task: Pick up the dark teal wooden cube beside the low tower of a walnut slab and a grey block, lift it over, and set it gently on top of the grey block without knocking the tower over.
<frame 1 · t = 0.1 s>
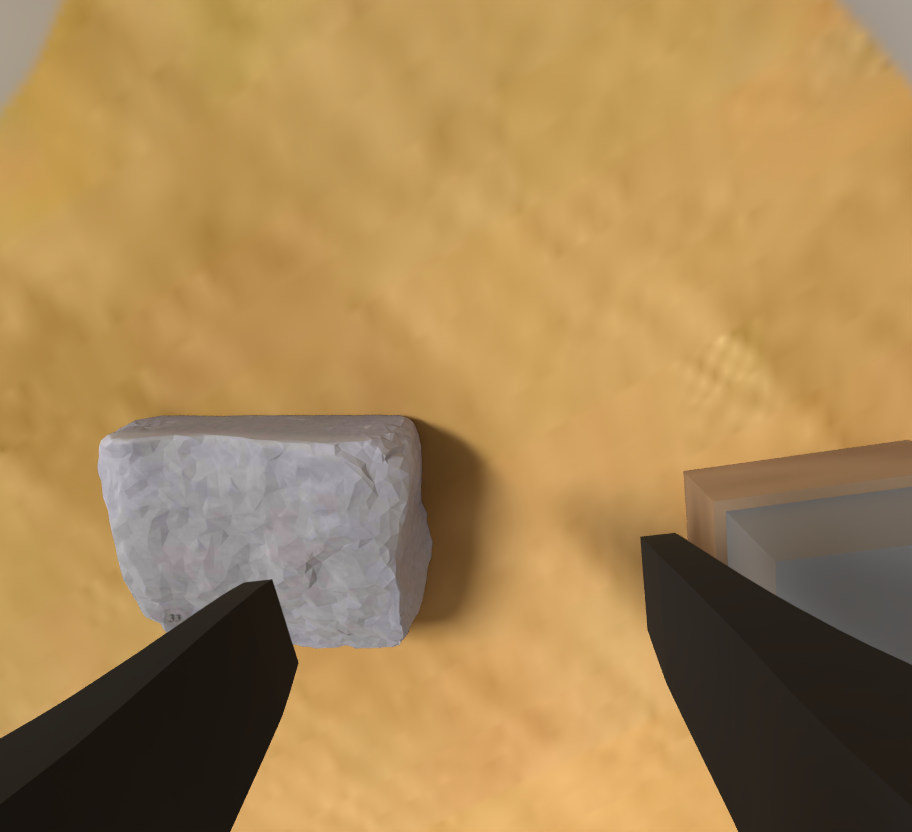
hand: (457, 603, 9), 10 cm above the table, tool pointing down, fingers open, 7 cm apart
stone block: (297, 516, 21), on the table
grey block: (834, 587, 17), point 3 cm above the table, touching walnut slab
walnut slab: (787, 543, 20), on the table, touching grey block
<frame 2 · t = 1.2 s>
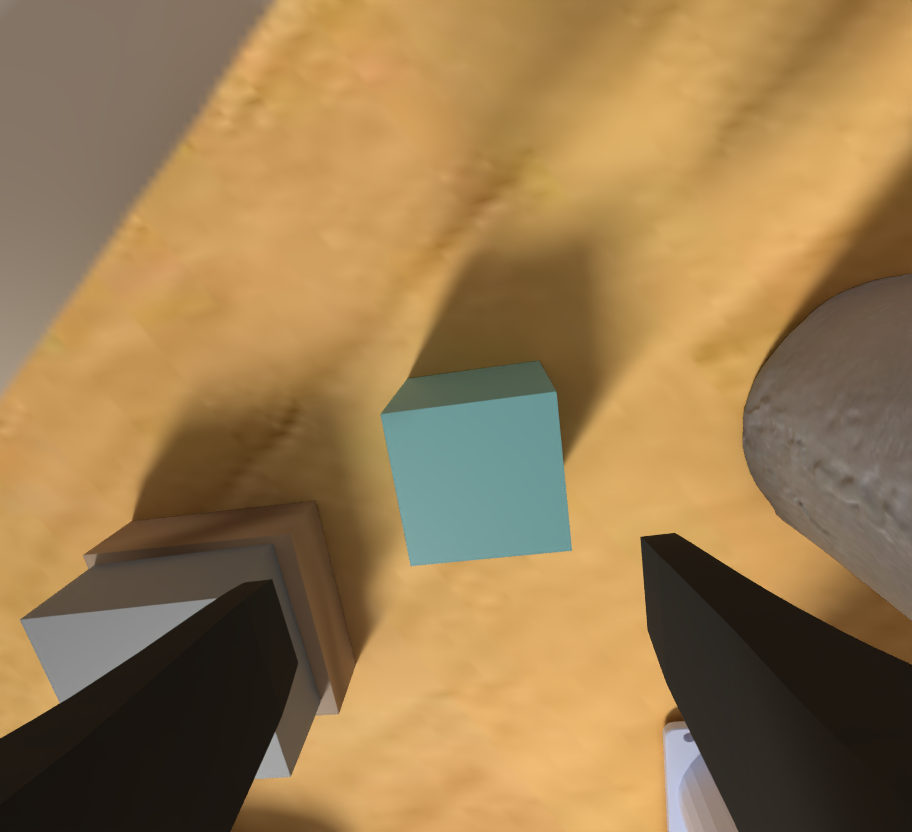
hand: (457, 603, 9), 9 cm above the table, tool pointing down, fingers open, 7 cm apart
pillar candle: (876, 409, 17), on the table
grey block: (210, 635, 19), point 3 cm above the table, touching walnut slab
walnut slab: (251, 588, 22), on the table, touching grey block
teal cube: (481, 431, 19), on the table
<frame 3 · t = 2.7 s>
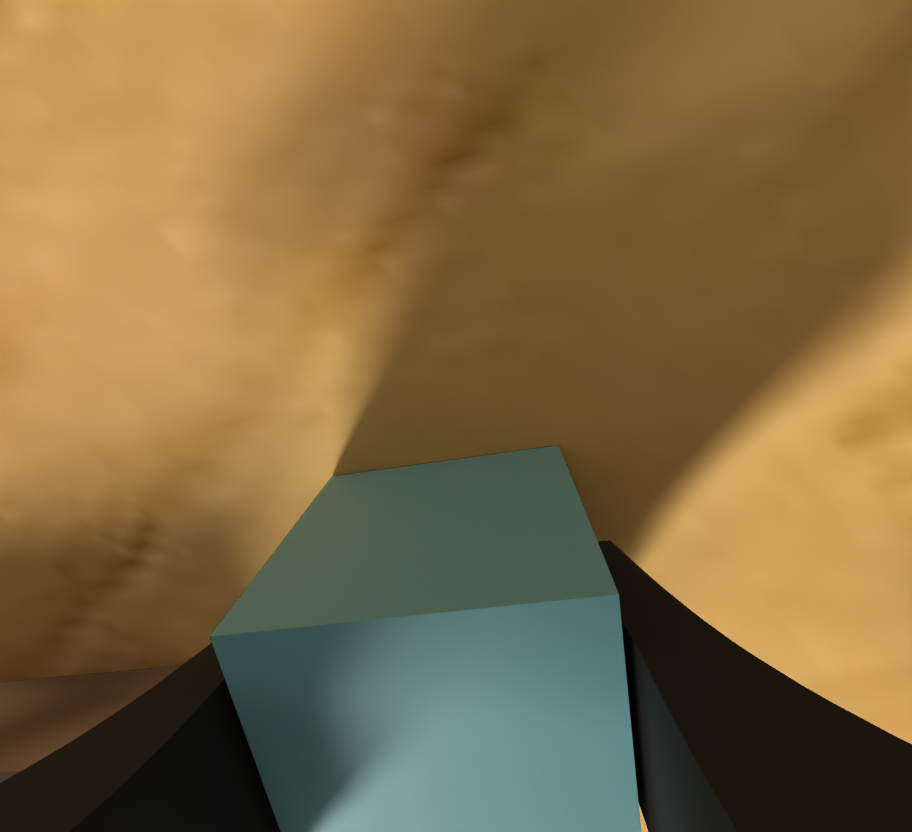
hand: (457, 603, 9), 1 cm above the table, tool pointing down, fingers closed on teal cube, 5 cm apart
walnut slab: (118, 778, 14), on the table, touching grey block
teal cube: (461, 561, 11), on the table, touching gripper
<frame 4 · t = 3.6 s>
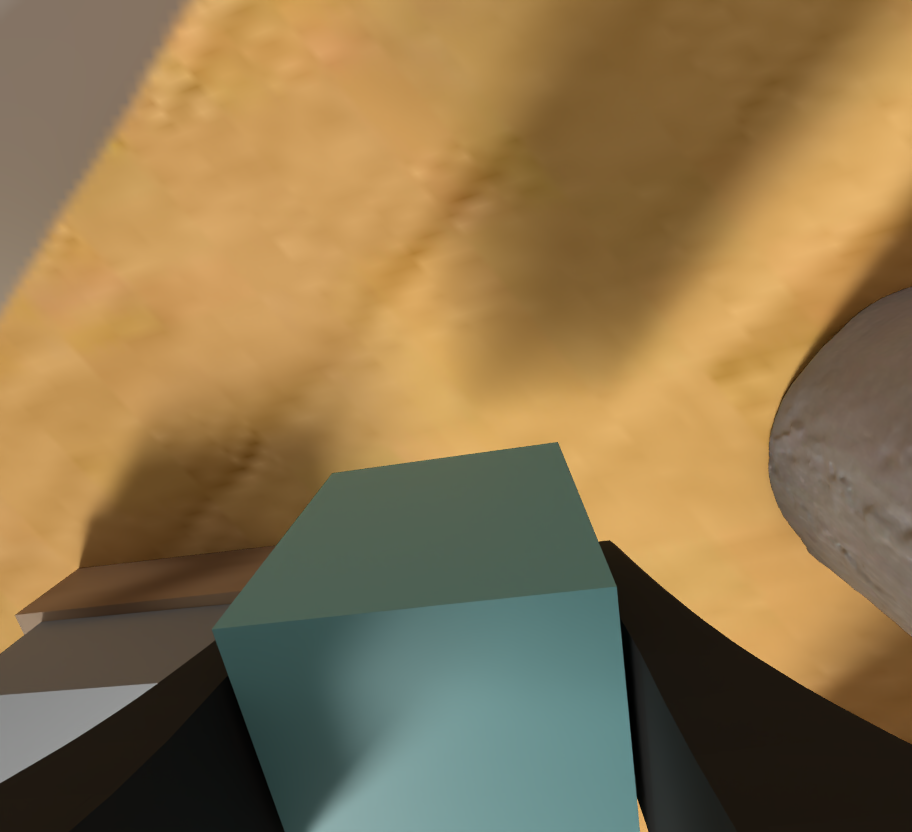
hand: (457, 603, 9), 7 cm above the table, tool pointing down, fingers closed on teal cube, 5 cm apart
grey block: (175, 700, 16), point 3 cm above the table
walnut slab: (216, 639, 19), on the table
teal cube: (461, 558, 11), point 5 cm above the table, touching gripper
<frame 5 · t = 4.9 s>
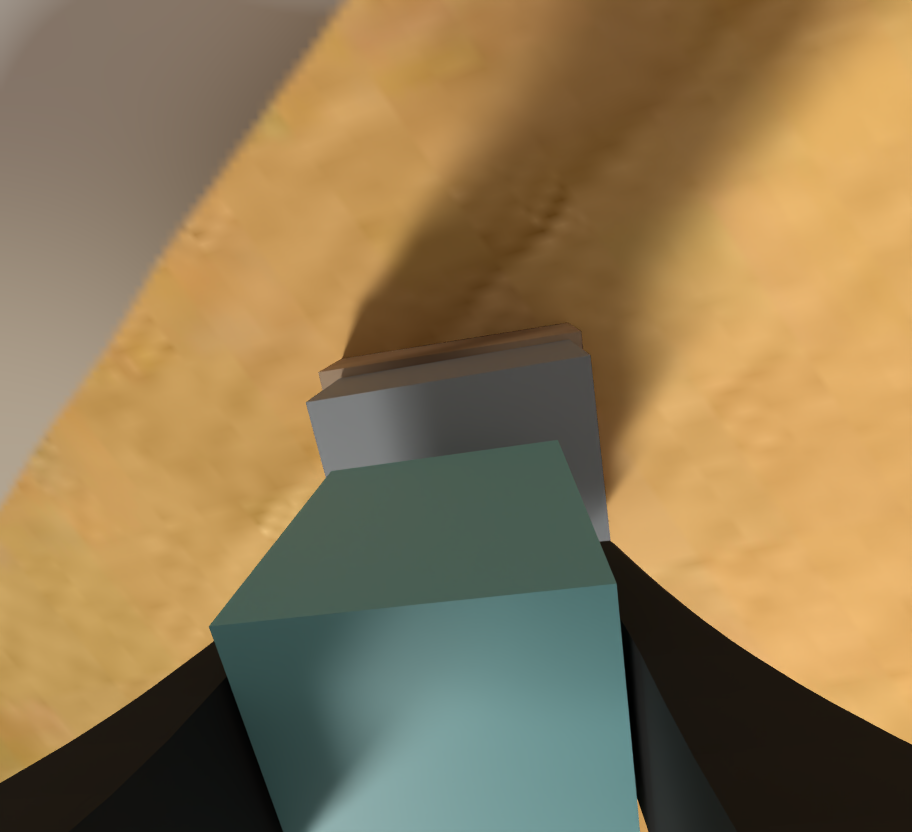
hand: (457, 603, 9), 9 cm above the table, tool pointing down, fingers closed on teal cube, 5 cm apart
grey block: (471, 466, 16), point 3 cm above the table, touching walnut slab
walnut slab: (470, 444, 19), on the table, touching grey block
teal cube: (460, 556, 11), point 8 cm above the table, touching gripper
when the fingers open (8 cm above the table, at t = 5.5 s): teal cube drops 1 cm, resting on grey block.
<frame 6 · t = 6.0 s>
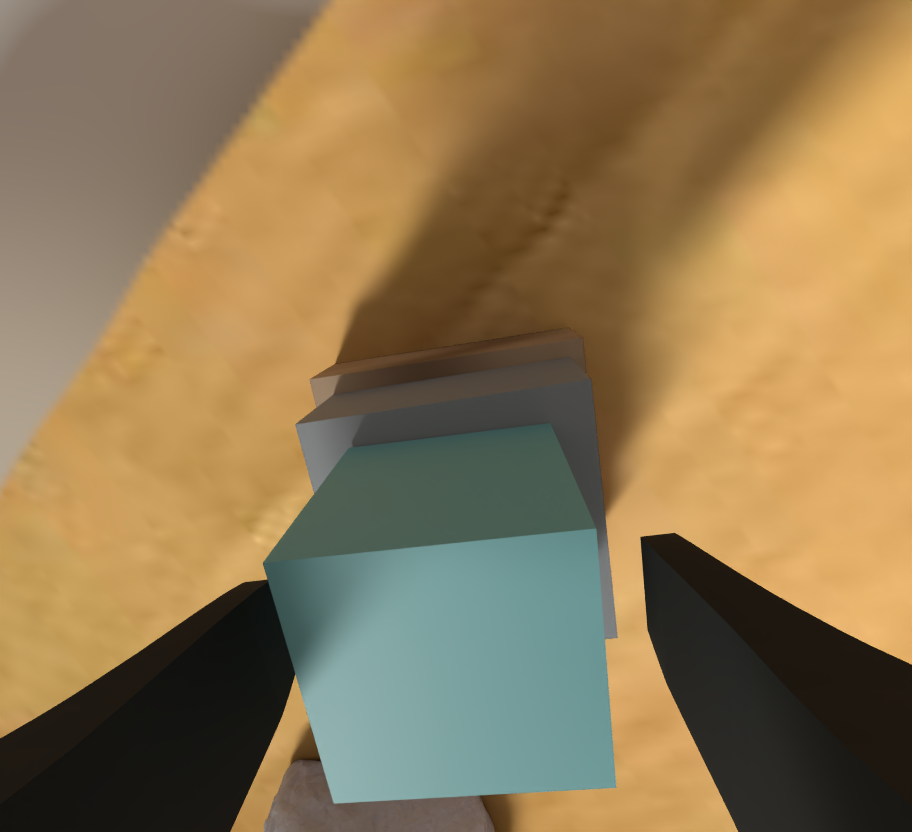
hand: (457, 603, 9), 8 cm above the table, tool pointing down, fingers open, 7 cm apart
grey block: (468, 486, 15), point 3 cm above the table, touching teal cube, walnut slab
walnut slab: (467, 451, 18), on the table, touching grey block
teal cube: (462, 526, 12), point 6 cm above the table, touching grey block
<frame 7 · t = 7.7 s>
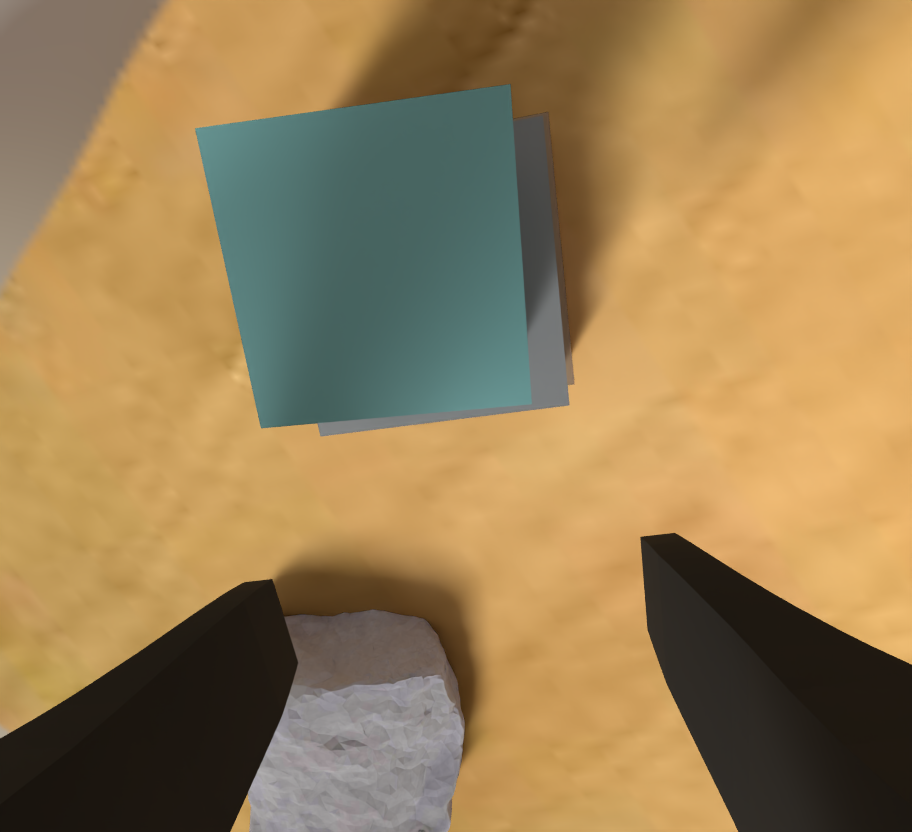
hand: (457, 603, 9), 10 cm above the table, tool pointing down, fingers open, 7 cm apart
stone block: (367, 704, 24), on the table
grey block: (433, 288, 16), point 2 cm above the table, touching teal cube, walnut slab
walnut slab: (442, 277, 18), on the table, touching grey block
teal cube: (413, 275, 13), point 5 cm above the table, touching grey block
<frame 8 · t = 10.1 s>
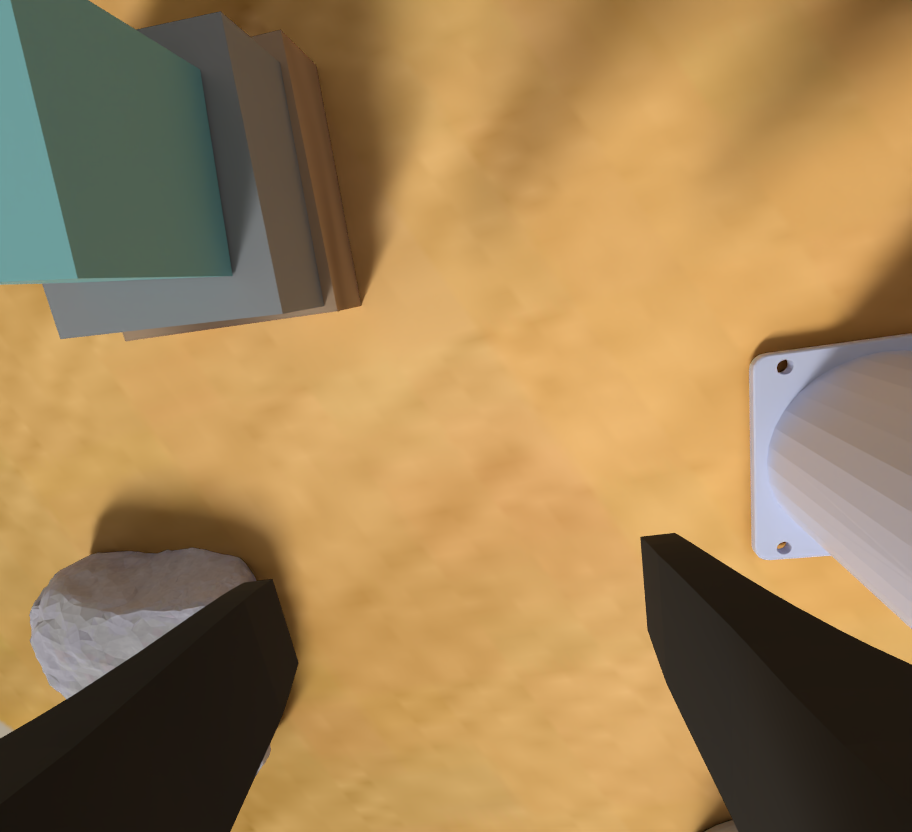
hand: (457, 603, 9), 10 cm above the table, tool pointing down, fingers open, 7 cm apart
stone block: (204, 644, 25), on the table
grey block: (201, 207, 16), point 3 cm above the table, touching walnut slab
walnut slab: (244, 212, 19), on the table, touching grey block
teal cube: (132, 184, 13), point 6 cm above the table
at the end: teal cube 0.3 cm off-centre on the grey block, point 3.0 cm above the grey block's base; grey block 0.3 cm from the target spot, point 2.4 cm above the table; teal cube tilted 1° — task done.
